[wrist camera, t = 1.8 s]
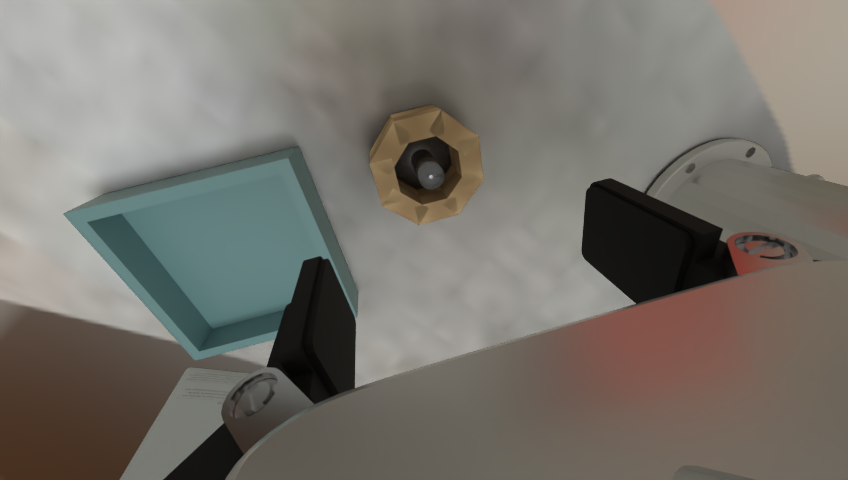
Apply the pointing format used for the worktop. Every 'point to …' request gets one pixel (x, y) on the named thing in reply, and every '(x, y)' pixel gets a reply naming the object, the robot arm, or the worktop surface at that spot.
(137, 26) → the worktop surface
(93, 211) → the tray
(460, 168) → the ring
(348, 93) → the worktop surface
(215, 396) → the supplement box
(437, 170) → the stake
